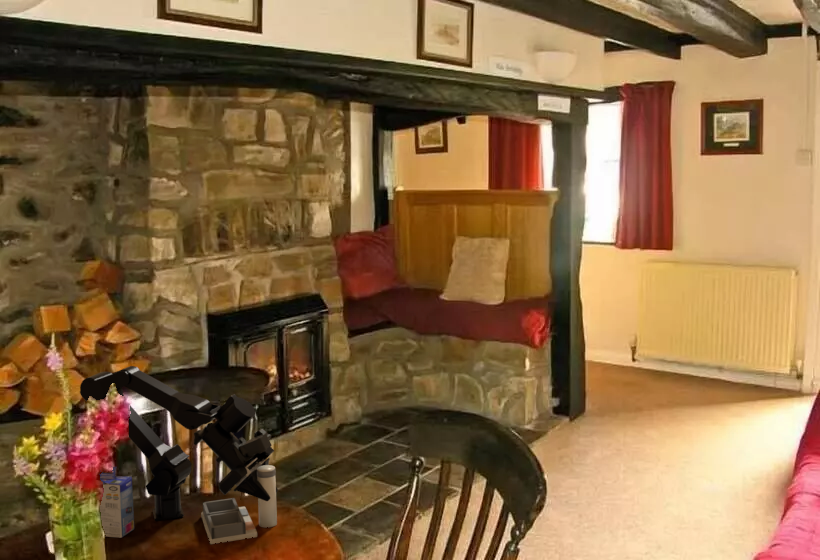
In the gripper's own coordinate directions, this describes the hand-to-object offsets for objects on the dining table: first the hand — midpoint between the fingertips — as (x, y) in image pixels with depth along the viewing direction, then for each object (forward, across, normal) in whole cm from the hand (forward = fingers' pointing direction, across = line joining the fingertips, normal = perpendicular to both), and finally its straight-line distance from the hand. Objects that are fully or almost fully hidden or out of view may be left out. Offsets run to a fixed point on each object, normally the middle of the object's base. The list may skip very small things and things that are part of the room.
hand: (272, 496), depth 191 cm
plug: (+4, 0, +6) cm, 7 cm away
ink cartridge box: (-19, -11, +29) cm, 37 cm away
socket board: (-2, -3, +11) cm, 12 cm away
